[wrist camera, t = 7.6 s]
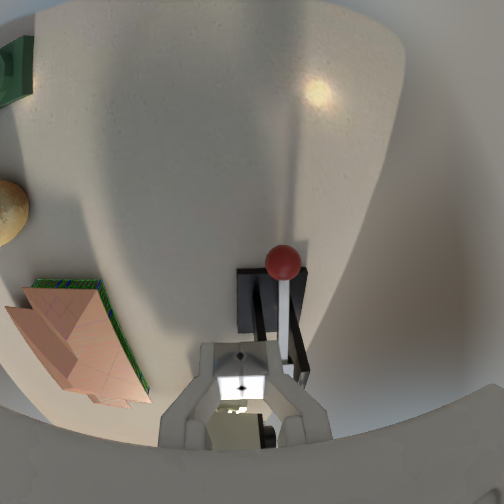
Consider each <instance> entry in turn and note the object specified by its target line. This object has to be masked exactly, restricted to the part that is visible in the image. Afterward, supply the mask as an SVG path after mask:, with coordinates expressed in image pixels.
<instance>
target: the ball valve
mask: <svg viewBox="0 0 504 504" xmlns="http://www.w3.org/2000/svg"><path fill="white" fill-rule="evenodd" d="M246 408H247V399H230V400H221V402H220V404H219V406H218V407H217V409H216V410H215V412H214V413H213V415H212V416H211V418H210V419H209V421H208V422H207V424H206V428H207V431H208V433H209V436H210V439H211V441H212V450H254V449H268V448H276V434H275V430H274V428H273V427H272V426H263V425H265V421H263V418H262V414H250V413H239V412H245V411H246Z"/></svg>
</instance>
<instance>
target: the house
mask: <svg viewBox="0 0 504 504" xmlns="http://www.w3.org/2000/svg"><path fill="white" fill-rule="evenodd" d="M38 280H42V281H43V280H45V282H46V280H49V281H50V280H53V281H54V280H60V279H36V281H37V283H38V285H37V283H36V281H35V282H34V283H33V285H34V284H35V283H36V285H37V287H36V288H33V287H35V286H36V285H35V286H33V285H32V286H31V287H22V289H23V291H24V293H25V295H26V297H27V299H28V301H29V303H30V305H31V306H32V308H33V309H26V308H17V307H8V306H5V308H6V310H7V312H8V313H9V315H10V317H11V319H12V320H13V322H14V323H15V325H16V327H17V328H18V330H19V331H20V333H21V335H22V336H23V338H24V339H25V341H26V342H27V344H28V345H29V347H30V348H31V349H32V351H33V352H34V354H35V355H36V356H37V358H38V359H39V361H40V362H41V363H42V365H43V366H44V367H45V369H46V370H47V371H48V372H49V374H50V375H51V376H52V377H53V379H54V380H55V381H56V382H57V384H58V385H59V386H60V387H61V388H62V389H63V390H66V391H71V392H76V393H81V394H86V395H87V396H88V397H89V398H90V399H91V400H92V402H93V403H97V404H102V405H109V406H115V407H122V408H130V409H131V407H130V405H129V404H128V403H127V401H134V402H144V403H152V401H151V400H150V398H149V396H148V394H149V388H148V387H149V386H148V387H147V385H148V384H147V382H146V380H145V379H144V377H143V375H142V373H141V374H140V372H141V371H139V370H140V369H139V367H138V365H137V368H138V371H139V375H140V379H139V376H138V373H137V369H136V366H135V369H136V372H135V369H134V366H132V365H133V362H132V364H131V362H129V361H130V358H127V357H129V354H128V356H127V353H126V352H124V351H126V349H125V350H124V347H125V344H126V343H127V342H126V339H125V337H124V335H122V338H123V337H124V339H125V344H124V347H123V343H122V344H121V341H122V338H121V341H119V340H120V337H118V335H116V334H117V333H116V332H117V330H116V331H115V327H116V325H115V327H114V326H113V324H114V322H115V319H116V320H117V318H116V316H115V314H113V313H114V311H113V309H110V307H109V309H107V310H108V311H109V310H111V312H110V314H108V311H107V310H106V308H107V306H108V304H107V306H106V307H104V306H105V302H106V300H107V298H108V296H107V298H106V300H105V302H103V299H104V297H105V295H104V297H103V299H102V297H101V295H102V293H103V291H104V290H105V287H104V285H103V282H102V280H78V281H81V283H82V281H86V282H87V281H90V283H91V281H95V282H96V281H100V282H99V284H98V286H97V287H93V286H94V284H95V282H94V284H93V286H92V287H89V285H90V283H89V285H88V287H84V286H83V287H79V286H80V285H81V283H80V285H79V286H78V287H75V286H76V284H77V282H78V281H77V282H76V284H75V286H74V285H73V282H74V280H73V282H72V281H71V280H70V281H69V282H68V284H67V285H66V287H65V286H64V288H65V289H61V288H62V287H63V285H64V284H65V282H66V281H67V280H66V281H65V282H64V280H63V281H62V280H60V282H59V283H58V285H57V286H56V288H53V286H54V285H55V284H54V285H53V286H50V285H51V284H52V282H53V281H52V282H51V284H50V285H49V286H47V284H48V283H49V281H48V283H47V284H46V286H43V285H44V283H45V282H44V283H43V285H42V286H40V284H41V283H40V284H39V281H38ZM42 281H41V282H42ZM56 282H57V281H56ZM56 282H55V283H56ZM61 282H62V283H61ZM63 282H64V283H63ZM70 282H71V283H72V284H71V285H72V286H73V289H71V288H72V286H71V285H70V287H71V288H70V287H68V285H69V284H70ZM86 282H85V284H86ZM101 282H102V285H103V287H104V289H103V291H102V293H101V295H99V294H100V292H99V291H100V289H101V287H102V285H101V287H100V289H98V287H99V285H100V284H101ZM60 283H61V285H60ZM85 284H84V285H85ZM59 285H60V286H59ZM61 286H62V287H61ZM38 287H40V288H38ZM42 287H44V288H42ZM45 287H48V288H45ZM49 287H52V288H49ZM58 287H59V288H58ZM66 288H70V289H66ZM75 288H77V289H75ZM78 288H82V289H78ZM83 288H86V289H83ZM87 288H91V289H87ZM92 288H96V289H92ZM97 289H98V290H97ZM105 294H106V295H107V293H106V290H105ZM101 299H102V300H101ZM108 300H109V298H108ZM108 303H110V301H108ZM103 304H104V305H103ZM110 306H111V303H110ZM111 308H112V306H111ZM112 311H113V313H112ZM111 313H112V315H113V317H114V316H115V319H114V322H113V324H111V323H112V319H113V317H112V315H111ZM108 316H109V317H108ZM110 316H111V317H112V319H111V318H110ZM117 323H118V321H117V322H116V324H117ZM118 326H119V323H118ZM113 327H114V328H113ZM119 327H120V326H119ZM117 329H118V327H117ZM120 330H121V328H120V329H119V331H120ZM121 333H122V330H121ZM118 334H119V332H118ZM122 334H123V333H122ZM120 336H121V334H120ZM123 342H124V340H123ZM127 345H128V344H127ZM127 345H126V348H127ZM122 347H123V348H122ZM128 349H129V353H130V352H131V350H130V348H129V346H128ZM127 352H128V350H127ZM125 353H126V354H125ZM131 354H132V352H131ZM131 354H130V357H131ZM132 357H133V354H132ZM128 359H129V360H128ZM134 360H135V359H134V357H133V361H134ZM131 361H132V358H131ZM135 362H136V361H135ZM135 362H134V365H135ZM136 364H137V363H136ZM136 374H137V375H136ZM141 375H142V377H143V380H144V383H145V385H146V387H144V384H143V382H142V379H141ZM140 380H141V381H140ZM141 383H142V384H141ZM142 385H143V386H142ZM145 388H147V390H148V393H147V391H146V390H145Z"/></svg>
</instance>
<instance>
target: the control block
mask: <svg viewBox="0 0 504 504" xmlns="http://www.w3.org/2000/svg"><path fill="white" fill-rule="evenodd" d="M33 43H34V36H25V35H24V36H22V37H20V38H18V39H16V40H14V41H13V42H11V43H9V44H8V45H6V46H4V47H2V48H1V49H0V108H2V107H4V106H6V105H8V104H10V103H12V102H15V101H17V100H19V99H22V98H24V97H26V96H29V95H31V94H33V89H32V63H33Z"/></svg>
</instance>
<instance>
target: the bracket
mask: <svg viewBox="0 0 504 504" xmlns="http://www.w3.org/2000/svg"><path fill="white" fill-rule="evenodd" d="M307 275H308V271H307V269H306V267H301V268H300V271H299V273H298V274H297V275H296V276H295V277H294V278H292V279H290V288H289V344H288V355H290V356H291V358H292V361H293V363H294V380H295V381H296V382H297V383H298V384H299V385H300V386H301V387H302V388H303V389H305V385H306V383H307V380H308V377H309V374H310V367H309V363H308V360H307V356H306V352H305V348H304V344H303V340H302V336H301V332H300V328H299V320H300V315H301V309H302V304H303V298H304V293H305V287H306V281H307ZM237 322H238V333H253V334H254V341H267V339H266V332H277V280H276V279H274V278H273V277H271V276H270V275H269V273H268V272H267V269H266V268H256V269H237Z"/></svg>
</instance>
